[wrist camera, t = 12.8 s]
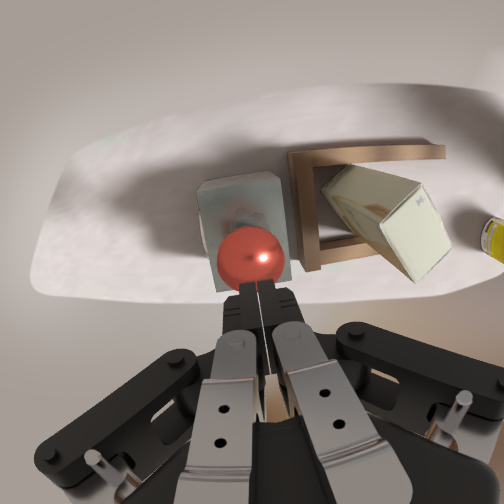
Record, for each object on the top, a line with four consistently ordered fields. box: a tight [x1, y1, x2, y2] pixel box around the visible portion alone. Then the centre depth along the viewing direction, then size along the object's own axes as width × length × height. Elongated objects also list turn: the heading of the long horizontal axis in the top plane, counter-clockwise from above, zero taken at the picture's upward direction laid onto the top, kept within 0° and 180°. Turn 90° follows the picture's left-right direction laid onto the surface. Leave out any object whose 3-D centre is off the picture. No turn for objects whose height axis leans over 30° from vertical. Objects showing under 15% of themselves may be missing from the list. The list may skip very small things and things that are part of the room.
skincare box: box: [320, 164, 452, 284], centre depth 23 cm, size 6×4×12 cm
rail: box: [287, 144, 446, 272], centre depth 27 cm, size 18×11×3 cm, turn 98°
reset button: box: [217, 225, 285, 292], centre depth 19 cm, size 4×4×4 cm
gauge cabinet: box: [196, 171, 292, 292], centre depth 25 cm, size 6×8×7 cm
